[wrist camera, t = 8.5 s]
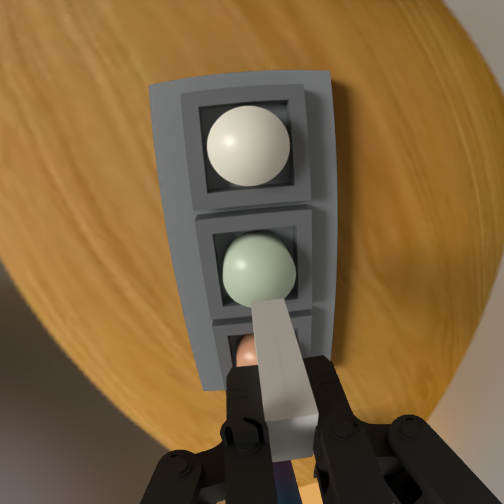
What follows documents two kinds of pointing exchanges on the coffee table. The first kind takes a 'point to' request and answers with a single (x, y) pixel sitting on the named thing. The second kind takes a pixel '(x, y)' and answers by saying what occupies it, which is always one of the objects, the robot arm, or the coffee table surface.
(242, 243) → the button sage
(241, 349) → the button rust
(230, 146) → the button cream
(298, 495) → the cup
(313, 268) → the panel
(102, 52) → the coffee table surface
